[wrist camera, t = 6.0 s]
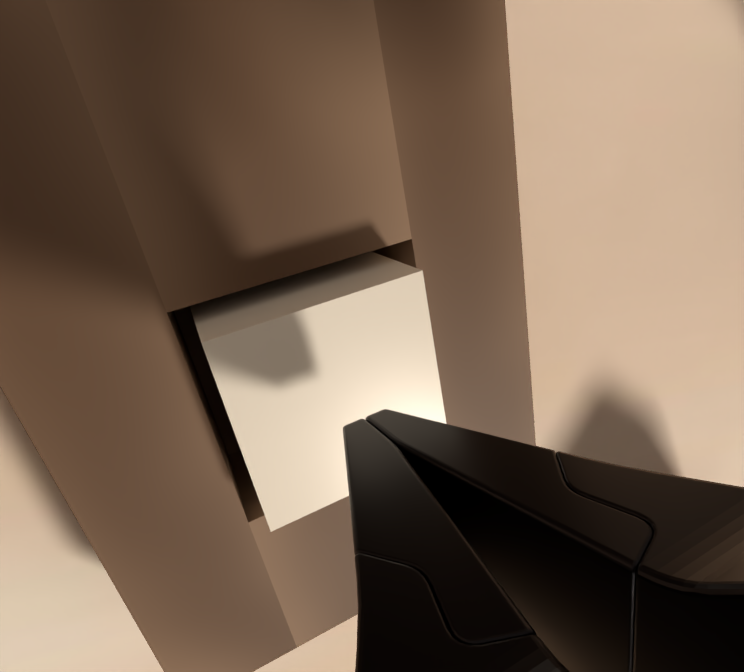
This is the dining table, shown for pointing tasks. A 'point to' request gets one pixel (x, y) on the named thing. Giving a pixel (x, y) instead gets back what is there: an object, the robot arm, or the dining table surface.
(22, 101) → the key panel
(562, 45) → the dining table surface
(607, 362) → the dining table surface
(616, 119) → the dining table surface
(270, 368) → the white square block
